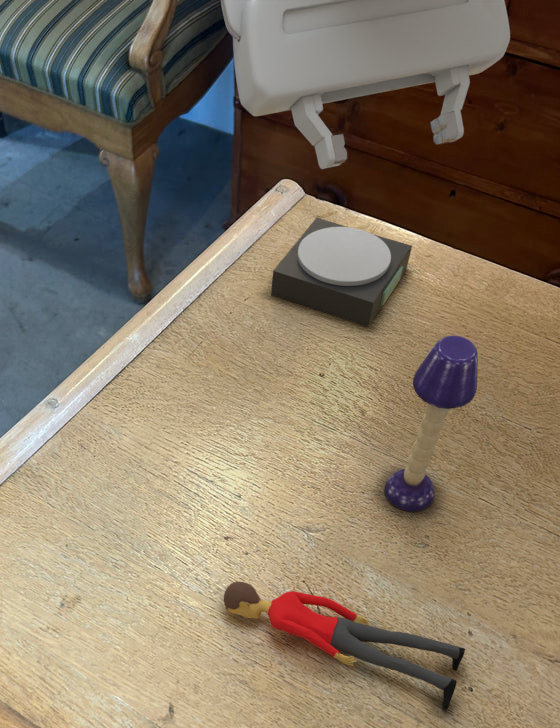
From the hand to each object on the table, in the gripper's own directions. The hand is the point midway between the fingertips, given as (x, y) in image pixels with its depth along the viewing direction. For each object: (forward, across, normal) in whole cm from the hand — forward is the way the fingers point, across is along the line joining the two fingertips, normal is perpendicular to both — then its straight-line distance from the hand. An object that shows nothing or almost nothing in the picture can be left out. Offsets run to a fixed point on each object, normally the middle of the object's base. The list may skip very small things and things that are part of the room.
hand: (392, 153), depth 65 cm
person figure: (+38, -6, -4) cm, 38 cm away
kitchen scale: (+6, +8, +29) cm, 31 cm away
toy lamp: (+26, 0, +9) cm, 28 cm away
